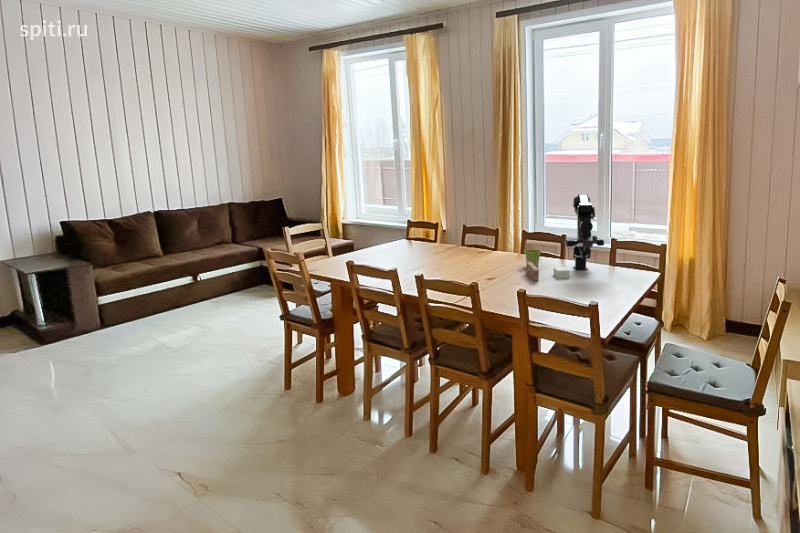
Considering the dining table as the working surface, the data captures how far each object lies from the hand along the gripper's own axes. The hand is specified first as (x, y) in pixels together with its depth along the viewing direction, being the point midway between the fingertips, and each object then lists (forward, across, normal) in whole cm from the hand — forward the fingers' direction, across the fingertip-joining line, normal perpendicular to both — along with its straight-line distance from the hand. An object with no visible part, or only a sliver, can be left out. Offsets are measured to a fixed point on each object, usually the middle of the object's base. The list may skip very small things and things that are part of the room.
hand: (583, 258), depth 293 cm
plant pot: (+9, -21, +23) cm, 32 cm away
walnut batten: (+9, -26, 0) cm, 27 cm away
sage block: (+9, -11, 0) cm, 14 cm away
